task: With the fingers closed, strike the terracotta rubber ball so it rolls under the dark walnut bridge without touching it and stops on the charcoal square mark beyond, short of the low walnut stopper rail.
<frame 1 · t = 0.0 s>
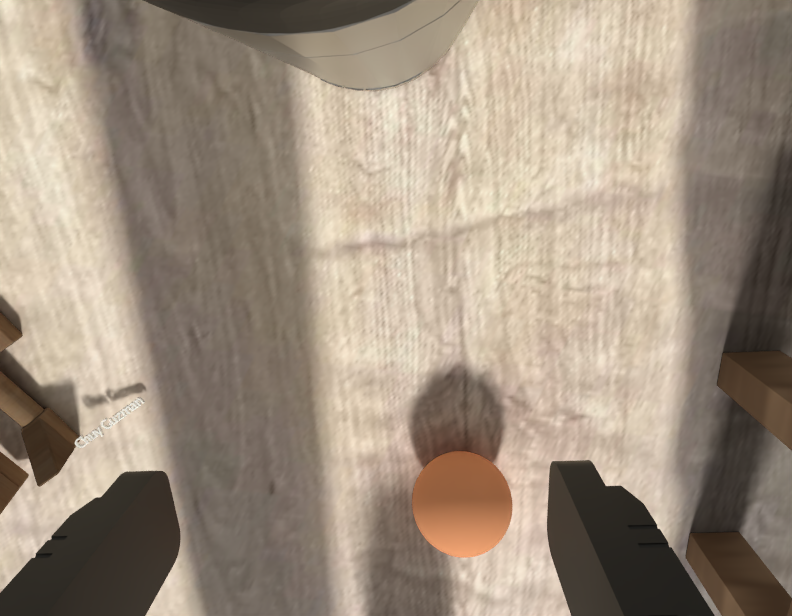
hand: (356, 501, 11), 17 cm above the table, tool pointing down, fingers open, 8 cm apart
bridge: (728, 462, 30), on the table
ball: (461, 502, 28), on the table
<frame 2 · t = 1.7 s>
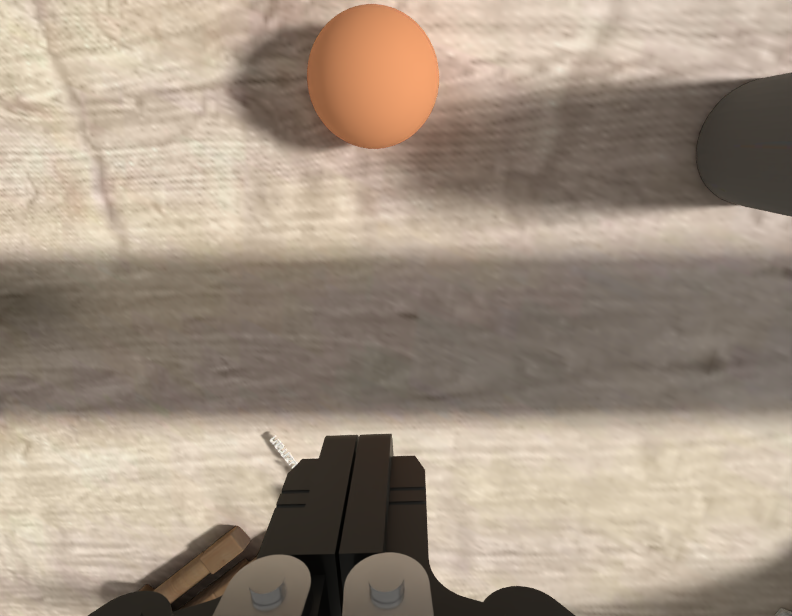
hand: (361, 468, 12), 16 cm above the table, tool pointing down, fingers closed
bottle: (754, 143, 25), on the table
wooden figure: (218, 592, 35), on the table
ball: (373, 80, 22), on the table
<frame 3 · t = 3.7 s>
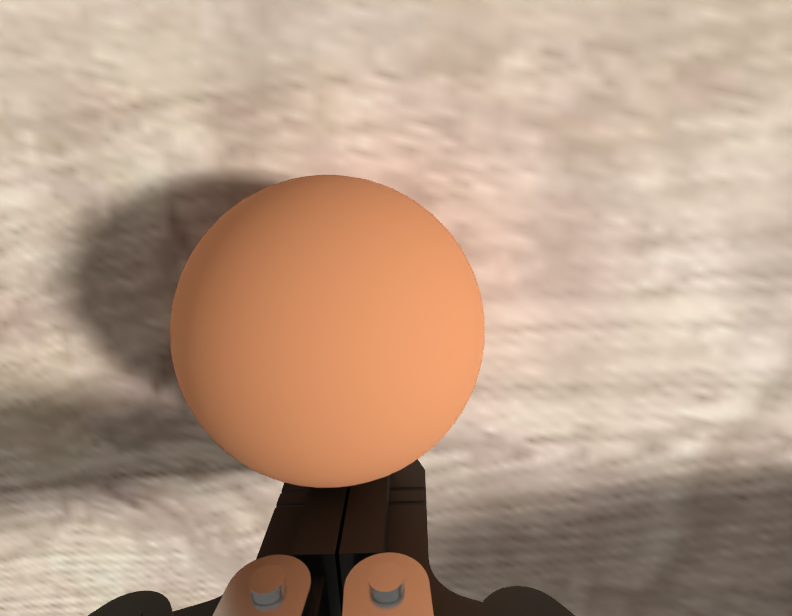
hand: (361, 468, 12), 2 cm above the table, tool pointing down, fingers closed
ball: (333, 329, 9), on the table
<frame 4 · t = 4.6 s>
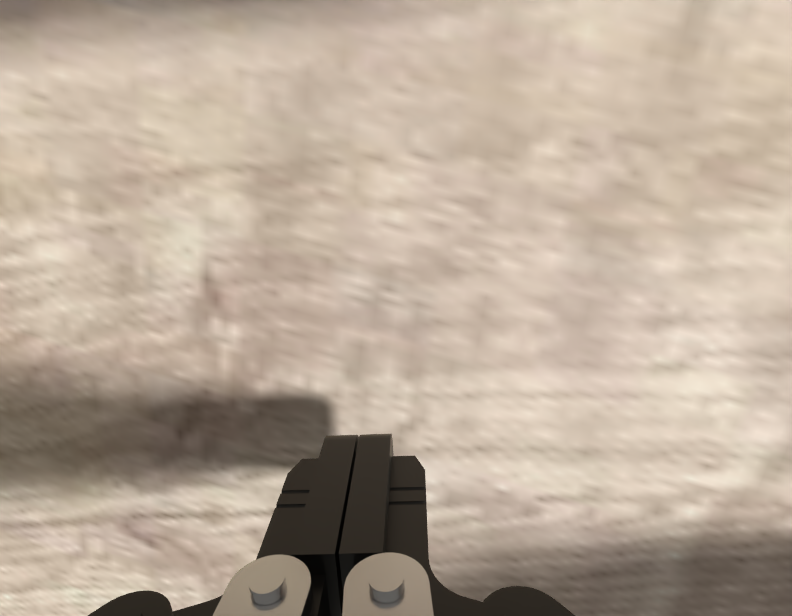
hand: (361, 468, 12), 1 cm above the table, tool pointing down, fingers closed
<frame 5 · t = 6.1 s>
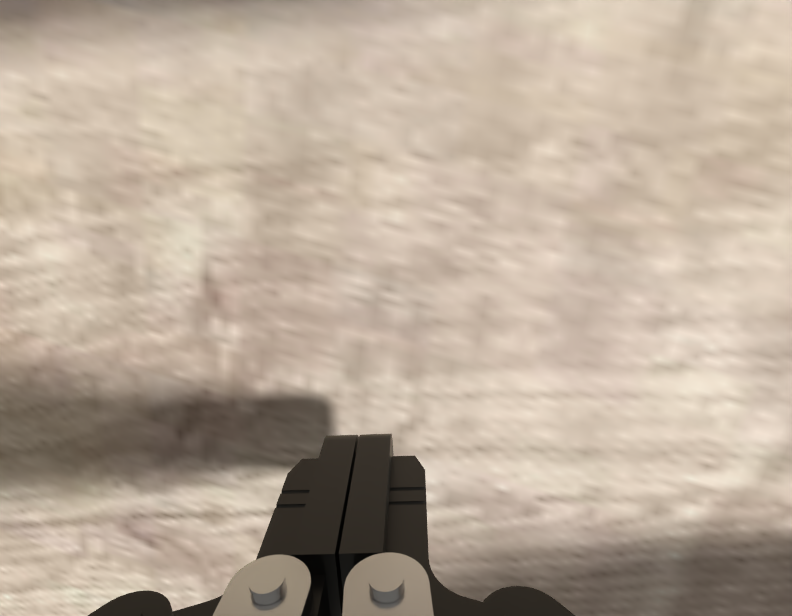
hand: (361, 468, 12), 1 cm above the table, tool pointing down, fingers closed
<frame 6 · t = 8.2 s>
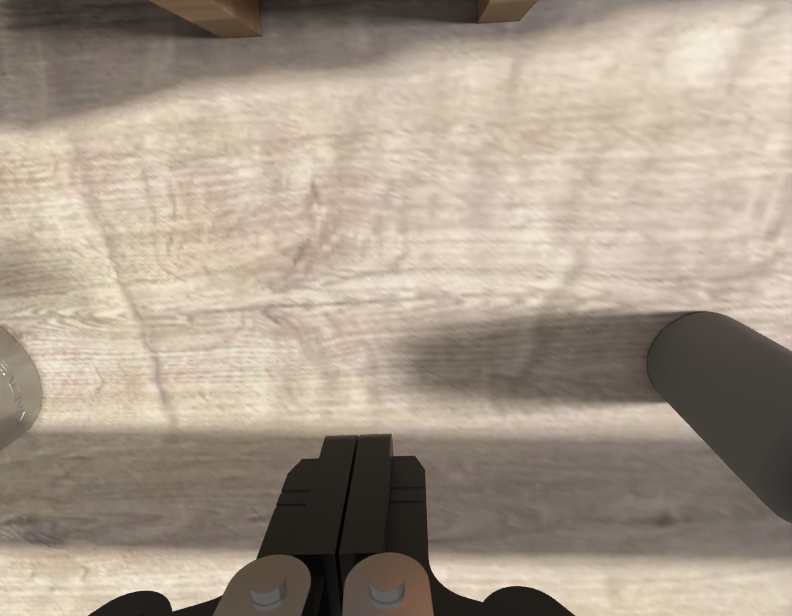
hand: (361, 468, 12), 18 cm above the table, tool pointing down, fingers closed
bottle: (695, 356, 30), on the table
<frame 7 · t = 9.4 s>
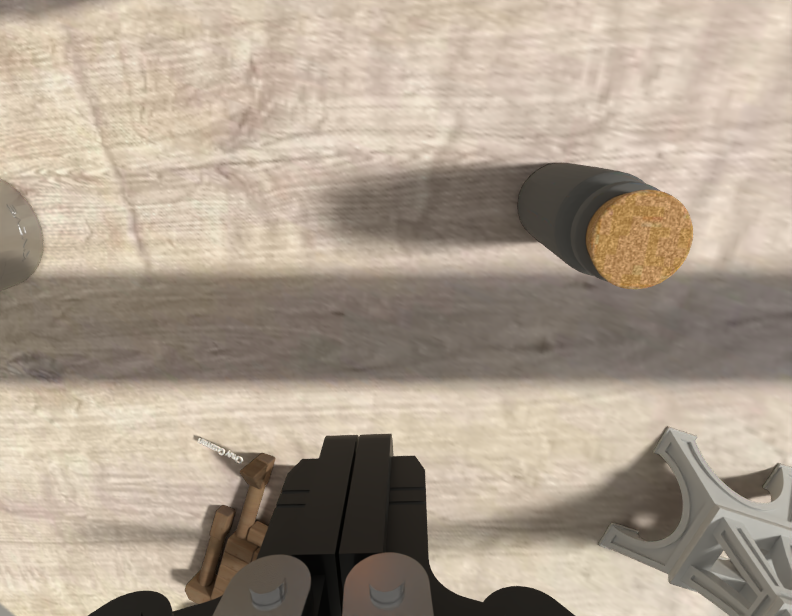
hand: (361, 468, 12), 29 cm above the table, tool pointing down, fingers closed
bottle: (555, 202, 38), on the table
eiffel tower: (696, 506, 47), on the table
wooden figure: (246, 554, 50), on the table
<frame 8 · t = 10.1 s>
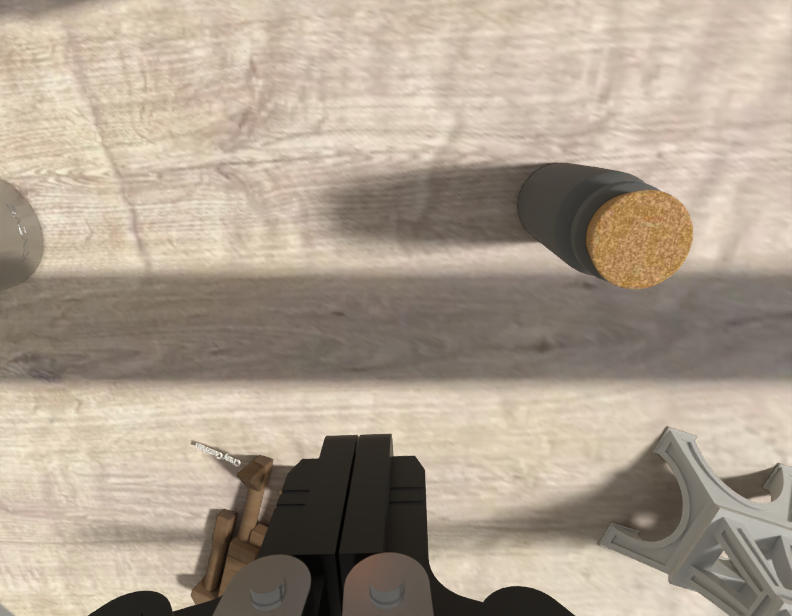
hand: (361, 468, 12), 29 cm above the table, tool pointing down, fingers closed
bottle: (555, 202, 38), on the table
eiffel tower: (696, 506, 47), on the table
wooden figure: (250, 557, 50), on the table
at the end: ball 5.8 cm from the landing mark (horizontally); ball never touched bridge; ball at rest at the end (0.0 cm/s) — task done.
